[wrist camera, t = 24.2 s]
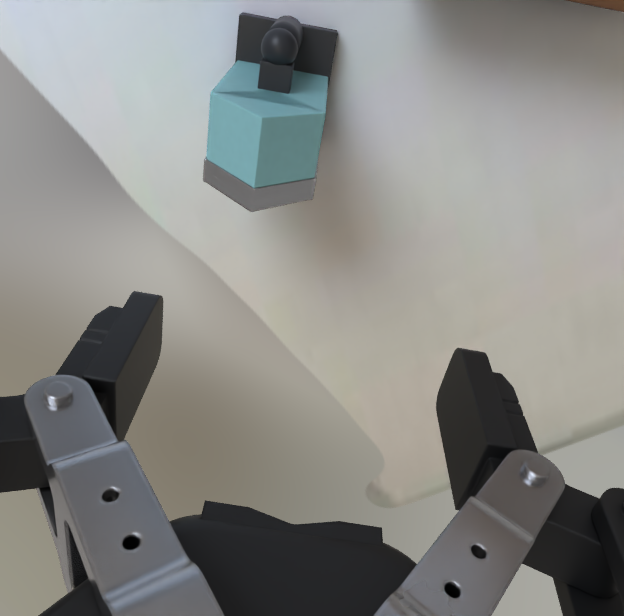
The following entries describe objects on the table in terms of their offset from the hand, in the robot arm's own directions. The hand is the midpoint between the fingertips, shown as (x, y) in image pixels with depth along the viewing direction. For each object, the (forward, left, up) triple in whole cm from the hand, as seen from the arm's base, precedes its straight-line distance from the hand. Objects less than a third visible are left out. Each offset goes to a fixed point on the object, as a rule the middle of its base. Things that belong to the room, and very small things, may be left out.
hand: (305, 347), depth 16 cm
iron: (+3, +1, -18) cm, 18 cm away
